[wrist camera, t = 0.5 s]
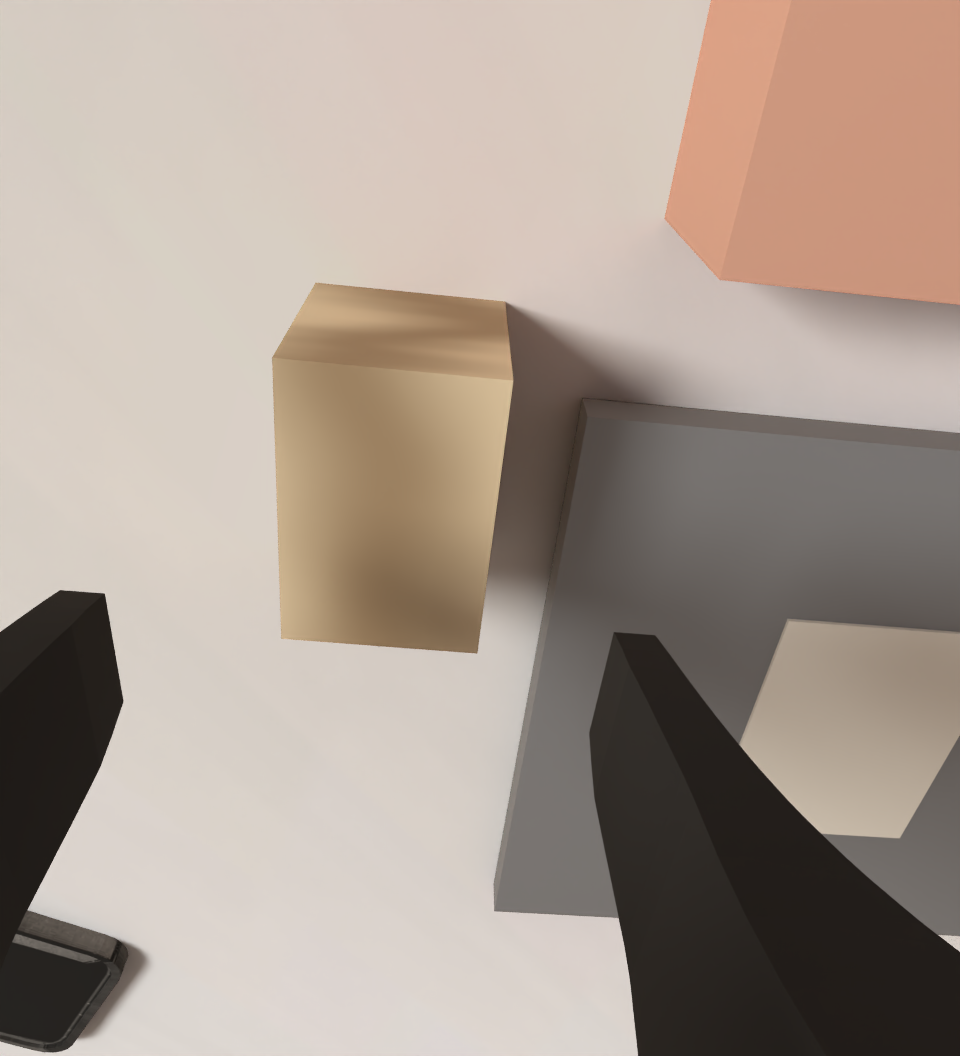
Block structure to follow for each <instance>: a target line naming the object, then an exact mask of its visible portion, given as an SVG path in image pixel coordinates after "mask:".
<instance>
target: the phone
mask: <svg viewBox="0 0 960 1056" xmlns="http://www.w3.org/2000/svg"><path fill="white" fill-rule="evenodd" d="M127 957H128V952H127V949H126V947H125V946H124V945H123V944H122V943H121V942H119V941H118V940H116V939H115V938H112V937H110V936H107V935H105V934H101V933H98V932H95V931H92V930H89V929H85V928H82V927H79V926H76V925H72V924H69V923H66V922H63V921H60V920H56V919H53V918H50V917H47V916H43V915H40V914H37V913H34V912H31V911H26V913H25V915H24V918H23V920H22V922H21V924H20V926H19V928H18V930H17V933H16V935H15V937H14V939H13V941H12V943H11V946H10V948H9V950H8V952H7V955H6V957H5V960H4V963H3V965H2V968H1V970H0V1041H1V1042H4V1043H8V1044H12V1045H16V1046H20V1047H23V1048H27V1049H31V1050H35V1051H41V1052H59V1051H63V1050H66V1049H68V1048H69V1047H71V1046H72V1045H73V1043H74V1042H75V1041H76V1039H77V1038H78V1037H79V1035H80V1034H81V1032H82V1031H83V1030H84V1028H85V1027H86V1025H87V1024H88V1023H89V1021H90V1020H91V1018H92V1017H93V1016H94V1014H95V1013H96V1012H97V1010H98V1009H99V1007H100V1006H101V1005H102V1003H103V1002H104V1000H105V999H106V998H107V996H108V995H109V994H110V992H111V991H112V989H113V988H114V987H115V985H116V984H117V982H118V981H119V979H120V976H121V974H122V971H123V968H124V965H125V963H126V960H127Z"/></svg>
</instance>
